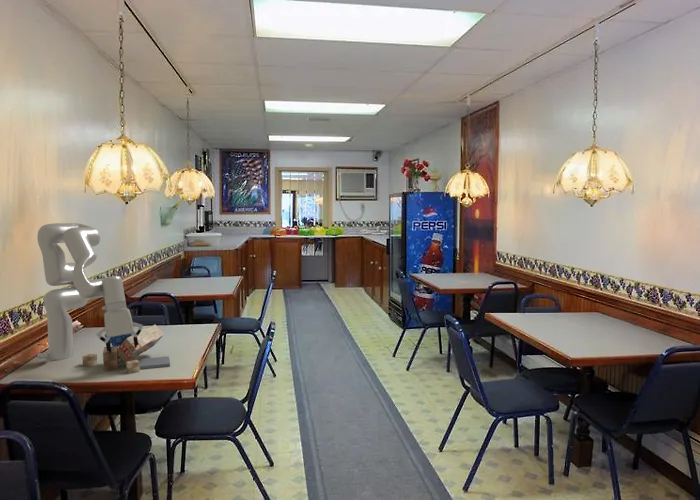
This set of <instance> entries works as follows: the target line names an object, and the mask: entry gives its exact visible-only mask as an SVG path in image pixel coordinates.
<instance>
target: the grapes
mask: <svg viewBox="0 0 700 500" xmlns="http://www.w3.org/2000/svg"><path fill="white" fill-rule="evenodd" d="M130 336H132V334H125V335H120V336H115V337H111V338H110V340H109V342H110V344H111V347H114V346H118V347H119V346H120V345H121V344H122V343H123V342H124V341H125V340H126V339H127V338H128V337H130ZM104 338H105V339H106V338H107V335H106V333H105V334H104Z"/></svg>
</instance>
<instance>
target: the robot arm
mask: <svg viewBox="0 0 700 500" xmlns="http://www.w3.org/2000/svg"><path fill="white" fill-rule="evenodd" d="M36 239H37V244H38V246H39V249H40V252H41V255H42V262H43V263H42V264H43V270H44V278H45V281H46V284H47V285H49V286H51V287H57V286H70V287H62V288H55V289H52V290H49V291H48V292H46V293H45V295H44V296H43V303H44V308H45V312H46V321H47V340H48V341H47V343H48V346H47V347H48V351H47V352H40V353H37V356H36V357H37V359H38V358H39V359H45V360H44V363H45V364H48V363H50V362H52V361H63V360H68V359H72V358H73V357H74V335H73V334H74V333H73V329H74V327H73V319H72V317H71V315H70V314H69V312H68V311H69V310H73V309H80V308H82V307H84V306H86V305H87V303H88V300H93V299H99V298H103V299H104V304H105V305H103V306H101V310H102V311H106V312H104V316H103V319H104V320H103V321H104V327H103V328H102V329H101V330H99V331H98V332H97V333H96V334H95V335H96V336H97V337H98V338H99V340H100V341H102V342H103V343H105V347H106V348H107V351H109V353H111V352H112V351H111V347H112V343H111V344H110V342H109V340H110V338H111V337H115V336H120V335H125V334H132V335H133V336H134V338H133V340H134V346H135V348H136V347H137V345H138V339H137V336H138V335H139V334H140V332H141V330H143V327H144V324H141V323H138V322H134V321H133V318H132V314H131V311H130V309H129V308H128V306H127V302H126V296H125V288H124V283H123V278H122V277H121V276H120V275H113V276H107V277H104V278H96V279H87V277H86V271H85V269H86V268H87V267H89V266H90V265H92V264H94V262H96V260H97V258H98V257H97V253H96V252H95V250H94V248H93V247H97V246H98V245H99V244H100V242H101V235H100V233H99V231H98V229H96V228H95V227H92V226H90V225H86V224H82V223H79V222H69V223H68V222H65V223H64V222H63V223H62V222H60V223H59V222H58V223H57V222H56V223H53V222H52V223H46V224H43V225H41V227H39V228H38V231H37V238H36ZM59 244H65V246H66V248H67V250H68V251H69V254H70V255H71V258H72V259H73V261H74V262H66V261H67V260H66V254H65V252H64V250H63V249H62V247H61V246H60V245H59ZM135 327H138V330H137V331H136V332H135V331H134V329H135ZM103 333H105V334H106V335H107V338H105V336H103V335H102V334H103Z"/></svg>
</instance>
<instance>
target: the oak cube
mask: <svg viewBox="0 0 700 500" xmlns="http://www.w3.org/2000/svg"><path fill="white" fill-rule="evenodd" d="M97 364H98V354H97V353H87V354H85V355H82V367H93V366H95V365H97Z"/></svg>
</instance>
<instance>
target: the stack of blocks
mask: <svg viewBox="0 0 700 500" xmlns="http://www.w3.org/2000/svg"><path fill="white" fill-rule="evenodd" d="M164 335H165V334H164V333H163V331H162V330H161V329H160V328H159V327H158V326H157V325H156V324H153V325H152V326H149V327H148V328H147V327H145V328H142V330H141V332H140V334H139V335H138V336H137V339H138V345H137V347H136V348H135V346H134V340H133V338H134V336H133V335H132V336H130V337H128V338H127V339H126V340H125V341H124V342H123V343H122V344H121V345H119V347H118V366H120V367H122V366H123V365H125V364H126V361H132V360H135V358H137V357H138V356H140V355H141V354H143V353H144V352H147V351H148V350H150V349H151V348H153V347H154V346H155V345H156V344H157V343H158V342H159V341H160V340H161V338H162V337H163V336H164Z"/></svg>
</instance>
